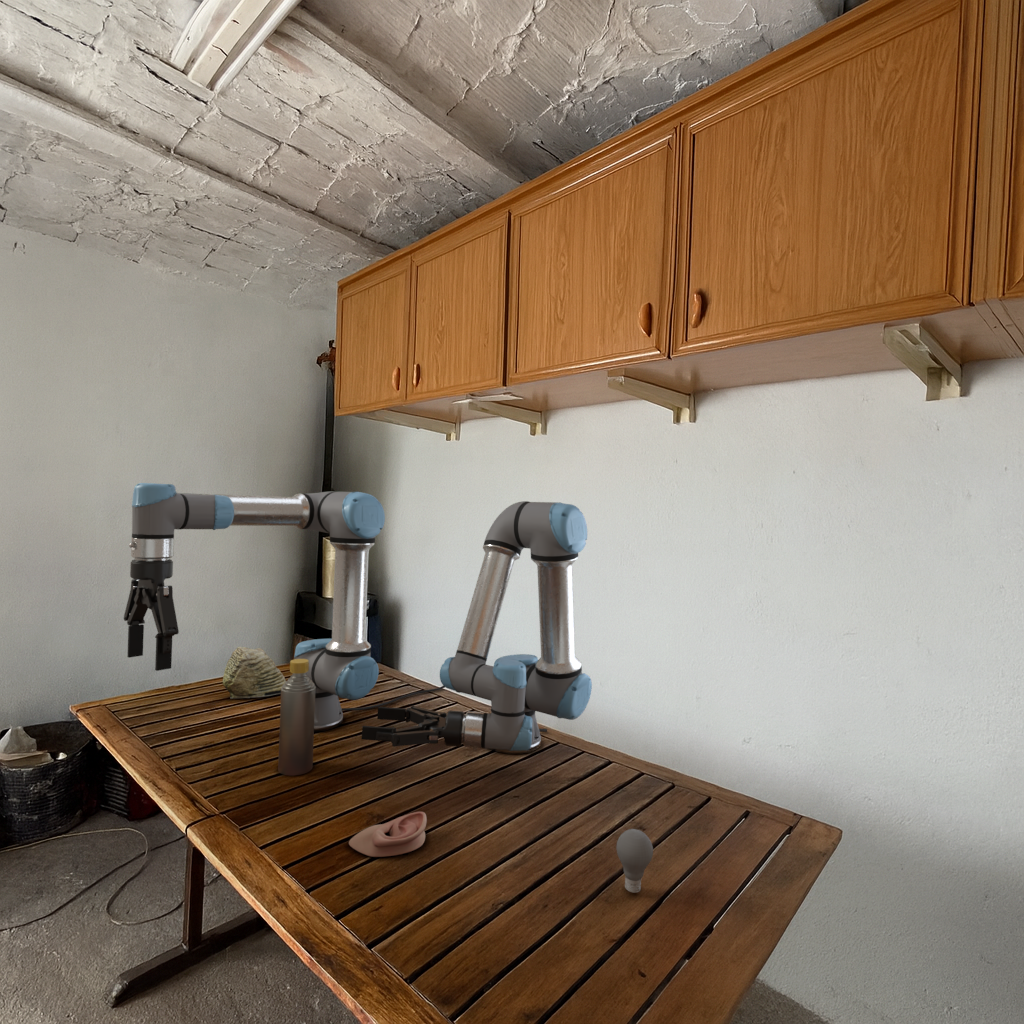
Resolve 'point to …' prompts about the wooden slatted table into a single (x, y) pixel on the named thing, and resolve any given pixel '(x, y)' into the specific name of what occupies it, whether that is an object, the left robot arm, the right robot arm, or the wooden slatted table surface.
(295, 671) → the cap
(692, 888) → the wooden slatted table surface
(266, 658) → the fossil
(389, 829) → the anatomical model
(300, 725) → the bottle
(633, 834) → the light bulb
